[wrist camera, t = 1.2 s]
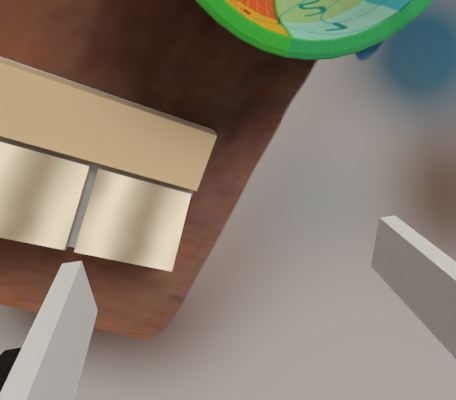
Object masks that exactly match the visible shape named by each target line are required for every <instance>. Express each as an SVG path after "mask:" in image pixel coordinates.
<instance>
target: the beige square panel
mask: <svg viewBox="0 0 456 400" xmlns="http://www.w3.org/2000/svg"><path fill="white" fill-rule="evenodd" d="M190 198H191V194H189V193H185V192H182V191H178V190H174V189H171V188H167V187H163V186H160V185H156V184H153V183H149V182H145V181H142V180H138V179H134V178H131V177H127V176H123V175H120V174H116V173H113V172H109V171H105V170H102V169H98V172H97V175H96V178H95V182H94V185H93V189H92V192H91V195H90V199H89V202H88V205H87V209H86V212H85V216H84V219H83V222H82V226H81V229H80V233H79V236H78V239H77V243H76V246H75V250H74V252H75V253H80V254H85V255H90V256H95V257H100V258H105V259H110V260H115V261H120V262H125V263H130V264H135V265H140V266H145V267H150V268H156V269H161V270H166V271H171V272H172V270H173V266H174V262H175V258H176V254H177V250H178V246H179V242H180V238H181V234H182V230H183V226H184V222H185V218H186V214H187V210H188V206H189V202H190Z"/></svg>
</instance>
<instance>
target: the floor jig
mask: <svg viewBox="0 0 456 400" xmlns="http://www.w3.org/2000/svg"><path fill="white" fill-rule="evenodd" d="M216 138H217V135H216V133H215V131H214V130H213V129H210V128H207V127H204V126H202V125H199V124H196V123H193V122H190V121H187V120H184V119H181V118H178V117H175V116H172V115H169V114H167V113H164V112H161V111H158V110H155V109H152V108H149V107H146V106H143V105H140V104H137V103H135V102H132V101H129V100H126V99H123V98H120V97H117V96H114V95H111V94H108V93H105V92H103V91H100V90H97V89H94V88H91V87H88V86H85V85H82V84H79V83H76V82H73V81H70V80H68V79H65V78H62V77H59V76H56V75H53V74H50V73H47V72H44V71H41V70H38V69H36V68H33V67H30V66H27V65H24V64H21V63H18V62H15V61H12V60H9V59H6V58H4V57H1V56H0V142H4V143H7V144H11V145H15V146H18V147H22V148H25V149H29V150H33V151H36V152H40V153H44V154H47V155H51V156H54V157H58V158H62V159H65V160H69V161H73V162H76V163H80V164H84V165H87V166H90V168H91V171H90V174H89V178H88V181H87V184H86V188H85V191H84V194H83V198H82V201H81V204H80V208H79V211H78V214H77V218H76V221H75V224H74V228H73V231H72V235H71V238H70V241H69V245H68V246H69V247H74V248H75V246H76V243H77V239H78V236H79V233H80V229H81V226H82V222H83V219H84V216H85V212H86V209H87V205H88V202H89V199H90V195H91V192H92V189H93V185H94V182H95V178H96V175H97V172H98V169H102V170H105V171H109V172H113V173H116V174H120V175H123V176H127V177H131V178H134V179H138V180H142V181H145V182H149V183H153V184H156V185H160V186H163V187H167V188H171V189H174V190H178V191H182V192H185V193H189V194H191V196H192V193H193V192H194V190H195V191H197V190H198V187H199V184H200V181H201V179H202V176H203V173H204V170H205V168H206V165H207V162H208V160H209V157H210V154H211V151H212V149H213V146H214V143H215V140H216Z"/></svg>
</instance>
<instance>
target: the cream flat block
mask: <svg viewBox="0 0 456 400" xmlns="http://www.w3.org/2000/svg"><path fill="white" fill-rule="evenodd" d="M90 171H91V168H90V166H87V165H84V164H80V163H76V162H73V161H69V160H65V159H62V158H58V157H54V156H51V155H47V154H44V153H40V152H36V151H33V150H29V149H25V148H22V147H18V146H15V145H11V144H7V143H4V142H0V238H4V239H9V240H14V241H20V242H25V243H30V244H35V245H40V246H45V247H50V248H55V249H60V250H66V249H67V248H68V245H69V241H70V238H71V235H72V231H73V228H74V224H75V221H76V218H77V214H78V211H79V208H80V204H81V201H82V198H83V194H84V191H85V188H86V184H87V181H88V178H89V174H90Z"/></svg>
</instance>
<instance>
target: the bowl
mask: <svg viewBox="0 0 456 400" xmlns="http://www.w3.org/2000/svg"><path fill="white" fill-rule="evenodd" d="M195 1H196V2H197V3H198V4H199V5H200V6H201V7H202V8H203V9H204V10H205V11H206V12H207V13H208V14H209V15H210V16H211V17H212V18H213V19H214V20H215V21H216V22H217V23H218V24H220V25H221V26H222V27H224V28H225V29H226V30H228V31H229V32H230V33H232V34H233V35H234V36H236V37H237V38H238V39H240V40H242V41H244V42H246V43H248V44H250V45H252V46H254V47H256V48H258V49H260V50H262V51H266V52H269V53H272V54H275V55H279V56H282V57H286V58H295V59H303V60H318V59H332V58H337V57H341V56H345V55H349V54H353V53H357V52H359V51H362V50H364V49H366V48H369V47H371V46H373V45H376V44H378V43H380V42H382V41H383V40H385V39H387V38H388V37H390V36H391V35H393V34H394V33H396V32H398V31H399V30H401V29H403V28H404V27H405V26H406V25H407V24H409V23H410V22H411V21H412V20H413V19H414V18H416V17H417V16H418V15H419V14H420V13H422V12H423V11H424V10H425V9H426V8H427V7H428V6H429V5H430V4H431V3H432V2H433V0H195Z"/></svg>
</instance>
